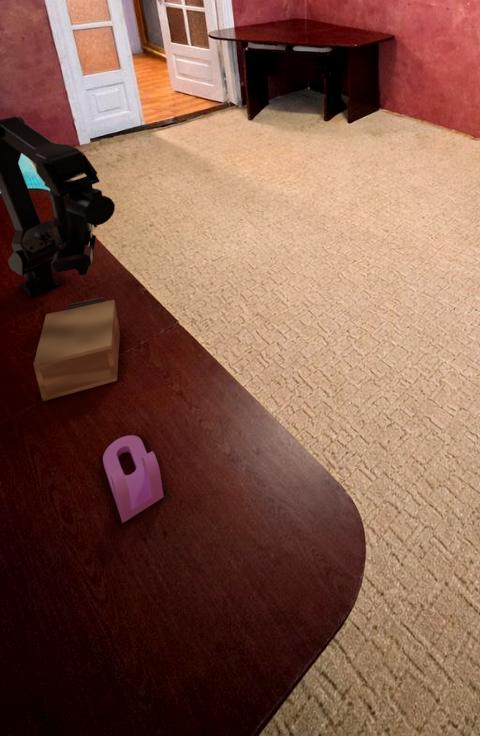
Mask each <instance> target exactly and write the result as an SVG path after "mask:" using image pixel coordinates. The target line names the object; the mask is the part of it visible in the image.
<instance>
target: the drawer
mask: <svg viewBox="0 0 480 736" xmlns="http://www.w3.org/2000/svg"><path fill="white" fill-rule="evenodd" d="M101 302H105V296H101V297H98V298H97V297H96V298H91V299H87V300H83V301H78V302H73V303H69V304H67V305H66V310H68V309H73V308H78V307H82V306H87V305H92V304H96V303H101Z"/></svg>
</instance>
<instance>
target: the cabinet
mask: <svg viewBox="0 0 480 736" xmlns="http://www.w3.org/2000/svg"><path fill="white" fill-rule="evenodd" d="M120 336H121V331H120V324H119V318H118V313H117V306H116V301H115V299H111V300H106V301H104V302H101V303H96V304H92V305H87V306H82V307H78V308H73V309H68V310H67V309H65V310H59V311H55V312H49V313H46V314H45V318H44V322H43V325H42V330H41V334H40V338H39V342H38V345H37V349H36V353H35V356H34V361H33V368H34V373H35V376H36V381H37V385H38V388H39V389H38V390H39V392H40V397H41V401H42V402H46V401H49V400H53V399H57V398H60V397H63V396H67V395H71V394H75V393H78V392H83V391H85V390H88V389H89V390H90V389H93V388H96V387H99V386H103V385H106V384H110V383H115V382H117V381H118V374H119V373H118V371H119V357H120V356H119V355H120V338H121V337H120Z"/></svg>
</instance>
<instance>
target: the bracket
mask: <svg viewBox="0 0 480 736" xmlns="http://www.w3.org/2000/svg"><path fill="white" fill-rule="evenodd" d="M125 453H129V454H130V456H131V459H132V461H133V465H134V467H135V470H134V472H133V471H132V473H131V474H125V472H124V470H123V469H122V467H121V466H122V465H121V462H120V460H119V458H120V456H121V455H123V454H125ZM102 463H103V467H104V470H105V474H106V478H107V480H108V483H109V486H110V490H111V493H112V495H113V498H114V502H115V505H116V508H117V510H118V513H119V516H120V520H121V523H122V524H123V523H125V522H127V521H129V520H130V519H132V518H133V517H135V516H136V515H138V514H139V513H141V512H143V511H144V510H146V509H148V508H150V507H151V506H152V505H153V504H155V503H157V502H158V501H160V500H162V499H163V498H164V496H165V495H164V491H163V483H162V482H163V481H162V477H161V470H160V466H159V463H158V459H157V456H156V454H155V452H154V451H153V450H151V451H150V452H147V450H146V447H145V445H144V442H143V440H142V439H141V437H139V436H137V435H134V434H133V435H131V434H130V435H129V434H128V435H125V436H121V437H119V438H117V439H115V440H114V441H113V442H112V443H111V444H109V446H107V447H106V449H105V450H104V453H103V456H102Z"/></svg>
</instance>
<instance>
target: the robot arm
mask: <svg viewBox="0 0 480 736" xmlns="http://www.w3.org/2000/svg"><path fill="white" fill-rule="evenodd" d="M22 155H23V156H25V157H26V158H27V159H29V160H30V161H31V162H33V163H34V164H35V169H36V174H37V175H38V176H39V178H40V179H41V180H42V182H43V183H44V187H46V188H48V189H49V193H50V199H51V204H52V209H53V214H54V218H53V219H51V220H47V221H45V222H42V221H41V219H40V216H39V213H38V210H37V208H36V206H35V203H34V201H33V198H32V195H31V193H30V189H29V188H28V184H27V182H26V180H25V179H26V178H25V177H24V175H23V171H22V169H21V166H20V163H19V162H20V159H21V156H22ZM83 175H85V176H83ZM80 176H82V177H80ZM78 177H80V178H78ZM75 178H77V179H75ZM98 183H100V179H99V177H98V171H97V170H96V169H95V167H94V166H93V165H92V163H91V161H90V160H89V159H88V157H87V156H86V154H85V153H84V152H83V151H81V150H80V149H79V148H77V147H74V146H72V145H69V144H66V143H65V144H64V143H55V142H53V140H50V139H49V138H47V137H46V136H44V135H43V134H41V133H40V132H38V130H36V129H34V128H33V127H31V126H30V125H28V124H27V123H26V121H25V120H24V119H23V118H22V117H21V116H10V117H6V118H1V119H0V195H1V196H2V199H3V202H4V204H5V206H6V209H7V212H8V215H9V217H10V219H11V222H12V225H13V227H14V230H15V231H14V234H13V237H12V241H11V247H12V251H13V252H12V254H11V256H10V257H9V258H8V260H7V263H8V265H9V268H10V270H11V271H12V272H14V273H16V274H18V275H20V276H21V277H23V281H24V282H23V283H21V284H19V288H20V289H21V290H23V292H25V294H27V295H28V296H29V297H30V298H35V297H36V296H39V295H41V294H43V293H45V292H49V291H50V290H52V289H55V288H56V287H59V286H61V285H63V281H62V280H61V279H60V278H58V277H57V276H56V275H55V273H57V274H58V273H62V272H68V271H74V270H76V271H77V272H78V274H79V276H86V275H87V274H88V270H89V267H90V266H92V264H93V255H94V252H95V247H96V241H97V235H95V234H93V231H94V228H98V227H99V226H100V225H103V224H105V223H107V222H108V221H109V220H110V219H111V218H112V217H113V215H114V213H115V210H116V205H115V202H114V201H113V199H112V198H111V197H108V196H106V195H104V194H103V191H102V190H101V189H99V188H94V187H93V185H95V184H98Z"/></svg>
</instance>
